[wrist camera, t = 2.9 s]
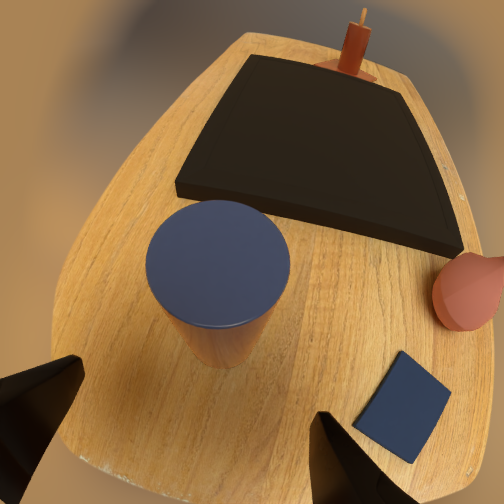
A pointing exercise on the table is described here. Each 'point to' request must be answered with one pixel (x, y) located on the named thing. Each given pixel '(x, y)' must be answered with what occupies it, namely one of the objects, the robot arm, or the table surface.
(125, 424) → the table surface
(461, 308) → the terracotta bud vase
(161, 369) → the table surface
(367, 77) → the terracotta tile
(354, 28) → the terracotta candle
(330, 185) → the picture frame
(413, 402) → the blue mat
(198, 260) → the blue cylinder
